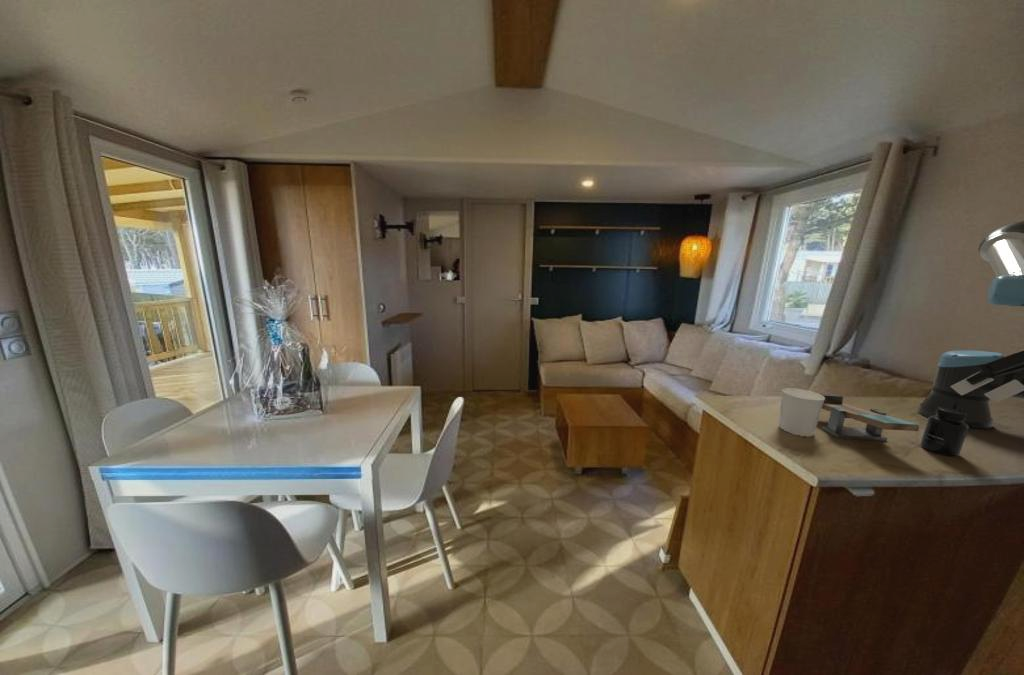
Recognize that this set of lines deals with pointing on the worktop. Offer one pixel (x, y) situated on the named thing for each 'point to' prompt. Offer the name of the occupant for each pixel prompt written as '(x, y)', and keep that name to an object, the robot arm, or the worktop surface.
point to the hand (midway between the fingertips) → (973, 394)
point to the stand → (842, 432)
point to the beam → (867, 415)
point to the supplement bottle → (945, 432)
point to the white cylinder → (800, 411)
